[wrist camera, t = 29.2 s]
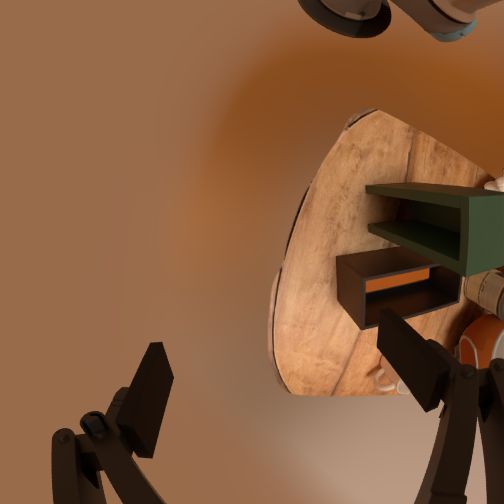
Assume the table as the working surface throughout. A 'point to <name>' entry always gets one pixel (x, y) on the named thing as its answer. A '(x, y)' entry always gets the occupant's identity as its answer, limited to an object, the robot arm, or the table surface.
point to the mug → (391, 375)
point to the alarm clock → (482, 341)
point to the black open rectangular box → (398, 297)
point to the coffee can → (487, 291)
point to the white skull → (496, 184)
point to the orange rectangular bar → (396, 280)
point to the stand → (448, 225)
